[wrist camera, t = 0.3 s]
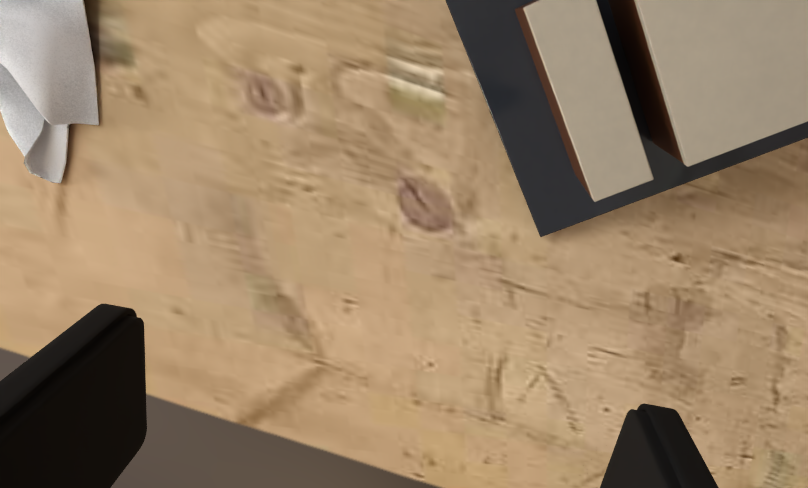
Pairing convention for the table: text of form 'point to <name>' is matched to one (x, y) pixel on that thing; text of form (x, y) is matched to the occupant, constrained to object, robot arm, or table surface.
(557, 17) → the cake slice
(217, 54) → the table surface
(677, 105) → the cake
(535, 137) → the cake board
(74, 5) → the cloth
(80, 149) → the table surface
